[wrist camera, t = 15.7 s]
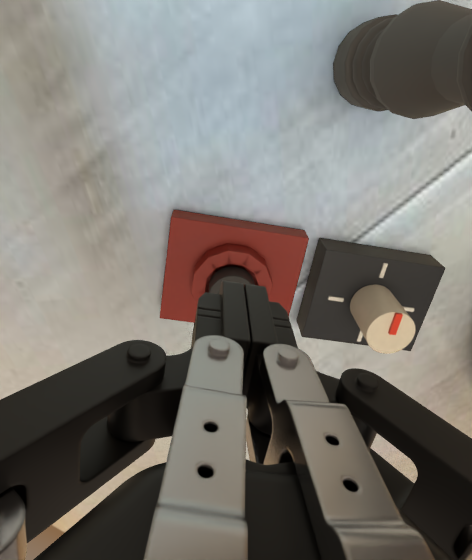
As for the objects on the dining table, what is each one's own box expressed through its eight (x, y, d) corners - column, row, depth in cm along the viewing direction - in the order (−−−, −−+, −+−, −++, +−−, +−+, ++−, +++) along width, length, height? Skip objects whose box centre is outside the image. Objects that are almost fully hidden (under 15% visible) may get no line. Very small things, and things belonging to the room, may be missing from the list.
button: (205, 303, 38) (205, 315, 36) (212, 262, 36) (212, 272, 35) (250, 309, 38) (251, 321, 37) (258, 269, 37) (260, 279, 35)
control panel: (296, 320, 43) (301, 337, 41) (319, 237, 40) (326, 250, 37) (399, 334, 44) (411, 352, 42) (430, 255, 41) (446, 268, 38)
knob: (385, 324, 40) (408, 358, 36) (344, 320, 40) (361, 353, 35) (398, 286, 39) (424, 316, 34) (356, 281, 38) (375, 311, 33)
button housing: (162, 306, 42) (157, 328, 39) (173, 209, 38) (168, 223, 34) (281, 322, 43) (286, 345, 40) (304, 229, 39) (313, 245, 36)
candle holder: (402, 110, 35) (731, 174, 12) (327, 106, 35) (527, 164, 12) (420, 22, 32) (879, -98, 10) (339, 17, 32) (622, -120, 10)
